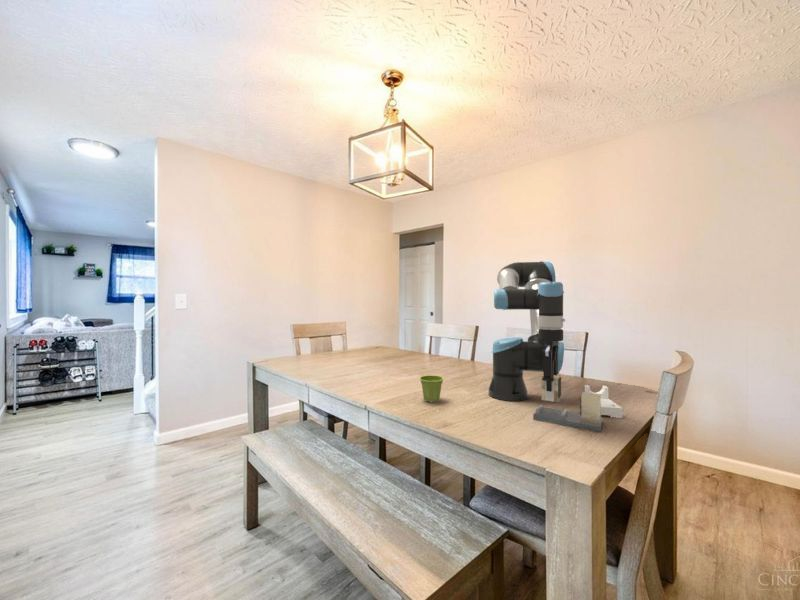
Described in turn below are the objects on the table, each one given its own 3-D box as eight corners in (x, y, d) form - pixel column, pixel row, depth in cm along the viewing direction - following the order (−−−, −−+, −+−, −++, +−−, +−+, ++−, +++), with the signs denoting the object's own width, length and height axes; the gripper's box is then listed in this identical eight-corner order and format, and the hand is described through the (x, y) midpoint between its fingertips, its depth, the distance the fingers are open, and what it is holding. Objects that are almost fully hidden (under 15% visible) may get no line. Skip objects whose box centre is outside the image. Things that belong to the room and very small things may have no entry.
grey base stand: (533, 419, 111) (533, 390, 111) (540, 410, 119) (540, 383, 119) (600, 432, 100) (600, 400, 100) (602, 421, 109) (602, 392, 109)
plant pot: (448, 401, 131) (448, 379, 131) (427, 405, 126) (427, 382, 126) (435, 395, 139) (435, 374, 139) (415, 398, 135) (415, 376, 135)
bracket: (584, 405, 126) (584, 384, 126) (605, 406, 125) (605, 385, 125) (599, 417, 113) (599, 395, 113) (622, 418, 112) (622, 395, 112)
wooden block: (561, 399, 113) (561, 375, 113) (559, 402, 109) (559, 378, 109) (544, 397, 116) (544, 373, 116) (541, 399, 112) (541, 375, 112)
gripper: (558, 331, 103) (558, 407, 103) (567, 327, 117) (567, 394, 117) (532, 329, 108) (533, 403, 108) (544, 326, 122) (544, 391, 122)
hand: (551, 398), depth 113 cm, fingers closed on wooden block, 4 cm apart
